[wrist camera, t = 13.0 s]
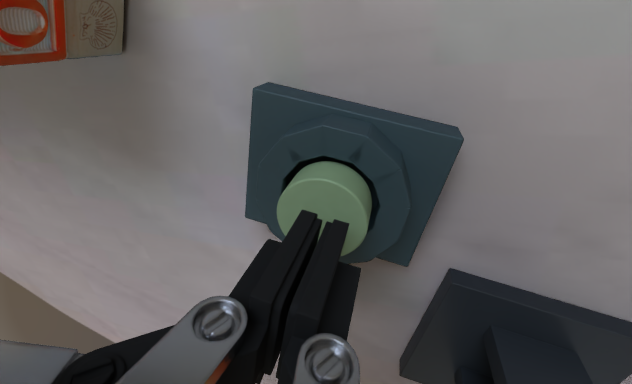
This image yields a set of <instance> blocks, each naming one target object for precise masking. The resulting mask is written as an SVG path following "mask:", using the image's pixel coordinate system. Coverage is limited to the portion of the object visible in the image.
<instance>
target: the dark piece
mask: <svg viewBox="0 0 632 384" xmlns="http://www.w3.org/2000/svg"><path fill="white" fill-rule="evenodd" d="M463 141H464V138H463V136H462V134H461V133H460V131H459V129H458V127H455V126H450V125H446V124H442V123H438V122H434V121H429V120H425V119H421V118H417V117H413V116H408V115H404V114H400V113H396V112H391V111H387V110H383V109H379V108H375V107H370V106H366V105H362V104H358V103H354V102H349V101H345V100H341V99H337V98H332V97H328V96H324V95H320V94H316V93H311V92H307V91H303V90H299V89H294V88H290V87H286V86H282V85H278V84H273V83H269V82H268V83H265V84H262V85H260V86H257V87H255V88H253V96H252V112H251V128H250V145H249V161H248V177H247V194H246V210H245V217H246V218H249V219H252V220H255V221H259V222H262V223H265V224H267V225H268V227H269V229H270V231H271V232H272V233H273V234H274V235H275V236H277V237H278V238H279V239H280V240H281V241H283V240H284V238H285V237H286V236H285V235H284V233H283V232H282V230H281V228H280V226H279V223H278V219H277V204H278V201H279V198H280V196H281V194H282V193H283V191H284V190H285V189H286V187H287V186H288V185H289V183H290V182H291V181H292V179H293V178H294V177H295V175H296V174H297V173H298V172H299V171H300V170H301V169H302V168H304V167H305V166H307V165H309V164H312V163H315V162H320V161H332V162H337V163H341V164H344V165H346V166H348V167H350V168H351V169H353V170H354V171H356V172H357V173H358V174H359V175H360V176H361V177H362V178H363V179H364V181H365V182H366V184H367V185H368V187H369V190H370V192H371V196H372V209H371V214H370V219H369V225H368V230H367V234H366V236H365V238H364V240H363V242H362V243H361V244H360V245H359V246H358V247H357V248H356V249H355V250H354V251H352V252H350V253H348V254H346V255H344V256H340V259H339V261H340V262H343V263H346V264H351V263H360V262H367V261H370V260H372V259H373V258H375V257H376V258H380V259H383V260H386V261H390V262H393V263H396V264H399V265H403V266H406V267H407V266H408V265H409V262H410V260H411V258H412V256H413V253H414V251H415V249H416V247H417V244H418V242H419V240H420V238H421V235H422V233H423V231H424V229H425V226H426V224H427V222H428V220H429V218H430V215H431V213H432V211H433V209H434V206H435V204H436V202H437V200H438V197H439V195H440V193H441V191H442V188H443V186H444V184H445V182H446V179H447V177H448V175H449V173H450V170H451V168H452V166H453V164H454V161H455V159H456V157H457V155H458V152H459V150H460V148H461V146H462V143H463Z"/></svg>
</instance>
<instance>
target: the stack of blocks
mask: <svg viewBox="0 0 632 384" xmlns="http://www.w3.org/2000/svg"><path fill="white" fill-rule="evenodd" d="M123 16H124V0H0V66H5V65H16V64H29V63H40V62H50V61H61V60H63V59H65V58H66V59H78V58H86V57H99V56H110V55H120V54H122V39H123Z"/></svg>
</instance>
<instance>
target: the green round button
mask: <svg viewBox="0 0 632 384" xmlns="http://www.w3.org/2000/svg"><path fill="white" fill-rule="evenodd" d="M371 209H372V196H371V192H370V190H369V187H368V185H367V184H366V182H365V181H364V179H363V178H362V177H361V176H360V175H359V174H358V173H357V172H356V171H354V170H353V169H351V168H350V167H348V166H346V165H344V164H341V163H337V162H332V161H320V162H315V163H312V164H309V165H307V166H305V167H304V168H302V169H301V170H300V171H299V172H298V173H297V174H296V175H295V177H294V178H293V179H292V181H291V182H290V183H289V185H288V186H287V187H286V189H285V190H284V191H283V193H282V194H281V196H280V198H279V201H278V204H277V219H278V223H279V226H280V228H281V230H282V232H283V233H284V235H285V236H286V235H287V233H288V232H289V230H290V228H291V227H292V225H293V223H294V222H295V220H296V218H297V217H298V215H299V213H300V212H301V210H306V211H310V212H313V213H316V214H318V217H317V218H318V219H321V220H322V225H321V229H320V234H319V238H320V236H321V233H322V231H323V229H324V227H325V224H326V222H327V221H328V222H331V223H333V220H334V219H336V220H339V221H343V222H346V223H349V228H348V231H347V235H346V238H345V242H344V245H343V249H342V252H341V256H344V255H346V254H348V253H350V252H352V251H354V250H355V249H356V248H357V247H358V246H359V245H360V244H361V243H362V242H363V240H364V238H365V236H366V234H367V230H368V225H369V219H370V214H371ZM319 238H318V240H319Z"/></svg>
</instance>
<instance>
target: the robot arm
mask: <svg viewBox="0 0 632 384" xmlns="http://www.w3.org/2000/svg"><path fill="white" fill-rule="evenodd" d="M317 217H318V214H316V213H313V212H310V211H306V210H301V212H300V213H299V215H298V217H297V218H296V220H295V222H294V223H293V225H292V227H291V228H290V230H289V232H288V233H287V235H286V237H285V238H284V240H283V241H282V243H281V242H278V241H274V240H271V239H268V240H267V241H266V242H265V244H264V245H263V247H262V248H261V250H260V251H259V253H258V254H257V256H256V257H255V258H254V260H253V261H252V263H251V264H250V266H249V267H248V269H247V270H246V272H245V273H244V275H243V276H242V277H241V279H240V280H239V282H238V283H237V285H236V286H235V288H234V289H233V291H232V292H231V294H230V295H229V296H215V297H210V298H207V299H205V300H203V301H201V302H199V303H198V304H197V305H195V306H194V307H193V308H192V309H191V310H190V311H189V312H188V313H187V314H186V315H185V316H184V317H183V318H182V319H181V320H180V321H179V322H178V323H177V324H176V325H173V326H170V327H167V328H164V329H160V330H157V331H154V332H151V333H148V334H144V335H141V336H138V337H135V338H132V339H128V340H125V341H122V342H119V343H116V344H112V345H110V346H106V347H103V348H100V349H97V350H94V351H92V352H89V353H87V354H80V353H78V350H77V349H71V348H64V347H55V346H47V345H39V344H30V343H22V342H15V341H6V340H0V384H255V383H257V384H260V382H261V380H262V378H263V375H264V373H265V374H268V375H271V373H272V371H273V369H274V366H275V364H276V361H277V359H278V356H279V354H280V357H279V362H278V368H277V373H276V378H278V379H279V380H278V384H360V366H359V360H358V357H357V355H356V353H355V351H354V349H353V348H352V347H351V345H350V344H349V343H348V342H347V336H348V331H349V326H350V322H351V317H352V312H353V307H354V302H355V297H356V292H357V287H358V282H359V277H360V272H361V268H358V267H355V266H352V265H349V264H346V263H343V262H340V261H339V259H340V256H341V252H342V249H343V245H344V242H345V238H346V235H347V231H348V228H349V223H346V222H343V221H339V220H336V219H334V220H333V223H331V222H328V221H327V222H326V224H325V227H324V229H323V231H322V233H321V236H320V238H319V234H320V229H321V225H322V220H321V219H318V218H317ZM318 238H319V240H318ZM280 351H281V352H280Z"/></svg>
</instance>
